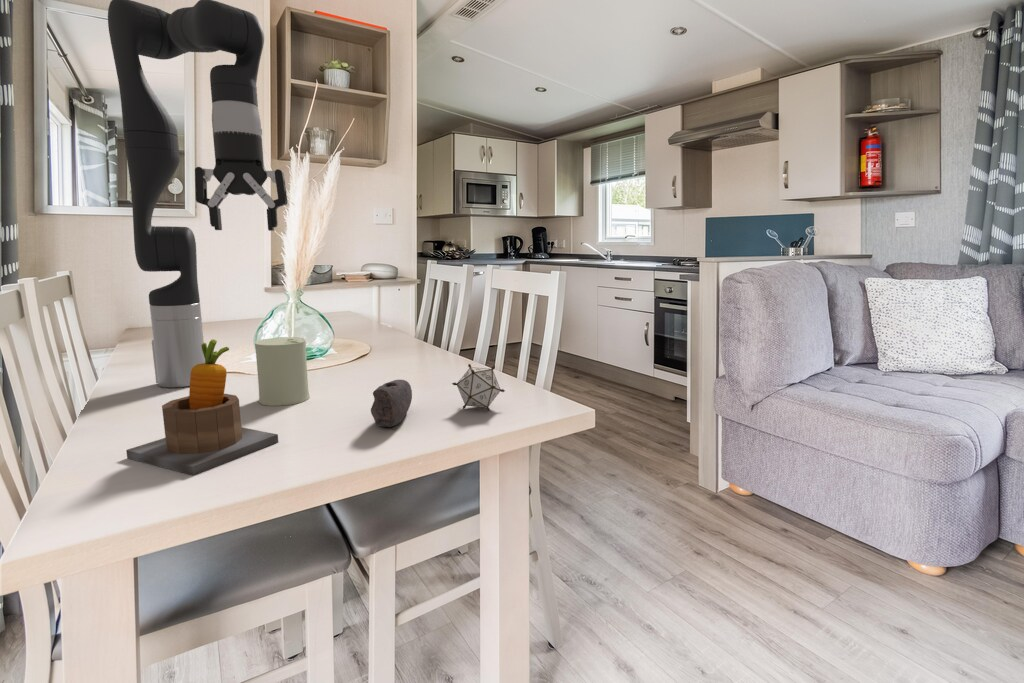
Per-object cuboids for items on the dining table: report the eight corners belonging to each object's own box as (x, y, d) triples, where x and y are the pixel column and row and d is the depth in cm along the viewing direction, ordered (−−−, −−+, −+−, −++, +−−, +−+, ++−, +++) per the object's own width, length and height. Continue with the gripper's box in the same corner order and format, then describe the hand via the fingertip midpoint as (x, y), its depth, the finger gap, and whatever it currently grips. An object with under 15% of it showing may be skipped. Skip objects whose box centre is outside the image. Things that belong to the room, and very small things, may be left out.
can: (292, 407, 105) (288, 343, 103) (248, 404, 107) (243, 341, 105) (318, 394, 114) (315, 335, 112) (277, 392, 116) (273, 334, 114)
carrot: (193, 437, 86) (203, 338, 86) (227, 439, 86) (236, 340, 86) (175, 442, 81) (186, 337, 81) (211, 445, 81) (221, 340, 81)
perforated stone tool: (394, 406, 106) (393, 370, 105) (422, 407, 105) (421, 371, 104) (364, 432, 91) (363, 390, 90) (396, 434, 91) (395, 392, 89)
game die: (488, 425, 106) (520, 382, 106) (471, 422, 98) (505, 376, 98) (454, 397, 109) (485, 355, 109) (435, 391, 101) (468, 347, 101)
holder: (127, 458, 80) (121, 408, 79) (215, 429, 93) (211, 386, 91) (193, 475, 74) (187, 422, 73) (278, 441, 87) (275, 396, 85)
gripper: (184, 127, 91) (194, 229, 94) (279, 131, 95) (285, 230, 98) (197, 135, 98) (206, 230, 101) (285, 139, 102) (291, 231, 105)
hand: (245, 230), depth 99 cm, fingers open, 8 cm apart
